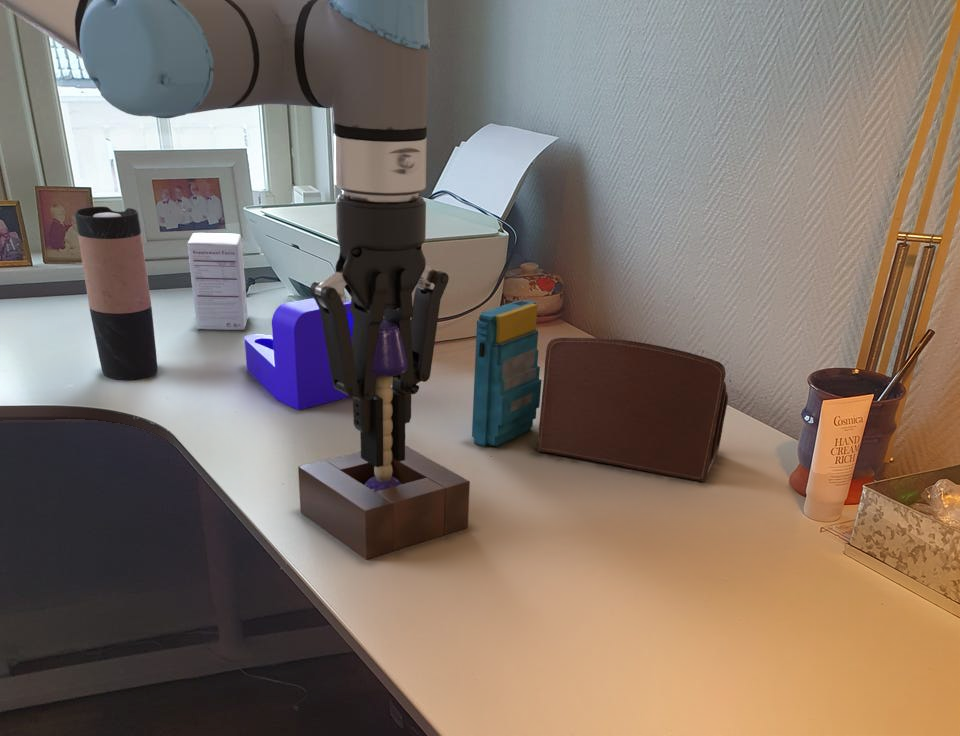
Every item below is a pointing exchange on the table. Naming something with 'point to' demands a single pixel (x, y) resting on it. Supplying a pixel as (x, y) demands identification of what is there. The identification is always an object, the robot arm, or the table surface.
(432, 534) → the socket base
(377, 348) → the toy lamp
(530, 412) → the handheld gaming console
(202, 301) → the white packaging box
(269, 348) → the bracket
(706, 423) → the letter holder
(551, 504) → the table surface
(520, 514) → the table surface
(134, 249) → the travel mug
